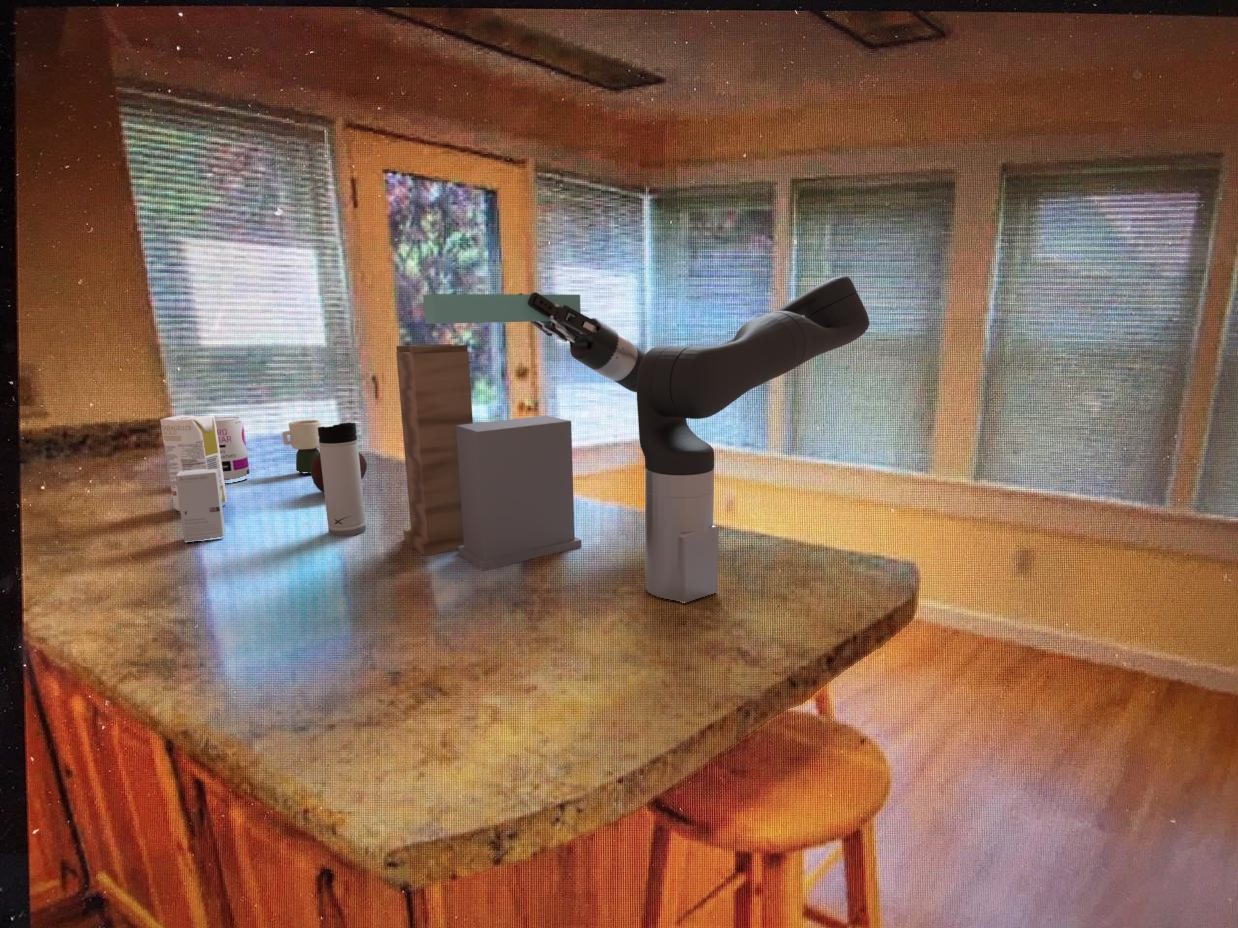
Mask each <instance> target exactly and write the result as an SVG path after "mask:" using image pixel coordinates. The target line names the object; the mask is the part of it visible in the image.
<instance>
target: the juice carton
mask: <svg viewBox="0 0 1238 928" xmlns="http://www.w3.org/2000/svg"><path fill="white" fill-rule="evenodd" d="M215 418H216V417H215V415H214V414H209V415H200V416H199V415H192V414H191V415H190V414H180V415H174V416H169V417H164V418H160V426H161V427H160V428H161V435H162V441H163V442H162V443H163V448H164V453H165V454H164V455H165V459H166V467H167V472H168V478H169V484H170V490H171V496H172V497H171V498H172V502H173V507H174V510H175V509H180V505H179V497H178V489H177V482H176V475H177V474H178V472H179V471H187V470H198V469H214V468H217V469H218V473H219V483H220V491H221V500H222V503H223V502H227V492H226V491H227V490H226V484H225V483H224V476H223V469H222V462H221V455H220V448H219V441H218V434H217V428H216V423H215Z"/></svg>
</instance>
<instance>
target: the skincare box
mask: <svg viewBox="0 0 1238 928" xmlns="http://www.w3.org/2000/svg"><path fill="white" fill-rule="evenodd" d="M176 482H177V489H178V497H179V505H180V512H179V513H180V518H181V528H182V533H183V534H182V535H183V542H184V541H192V540H204V539H210V538H217V537H222V536H223V535H224V536H225V534H224V532H225V533H226V526H225V518H224V510H223V507H222V500H221V491H220V483H219V473H218V469H217V468H214V469H198V470H187V471H179V472H178V474H177V475H176Z"/></svg>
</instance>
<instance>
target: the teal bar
mask: <svg viewBox="0 0 1238 928" xmlns="http://www.w3.org/2000/svg"><path fill="white" fill-rule="evenodd" d="M531 294H532V293H530V294H524V293H522V294H520V293H517V294H515V293H514V294H513V293H511V294H509V293H507V294H506V293H504V294H503V293H501V294H497V293H496V294H495V293H493V294H492V293H490V294H489V293H486V294H485V293H484V294H483V293H482V294H480V293H471V294H470V293H467V294H466V293H464V294H463V293H462V294H461V293H431V294H429V293H428V294H423V295H422V298H423V299H422V300H423V311H424V314H423V315H424V324H425V325H431V324H433V325H435V324H439V325H440V324H443V325H444V324H446V325H447V324H478V323H480V324H481V323H482V324H483V323H485V324H487V323H488V324H489V323H522V322H523V323H525V322H526V323H528V322H529V323H531V322H534V321H551V320H550V319H548V316H549V315H548V316H544V315H543V314H541V313H540V312H538V311H537V310H535V309H533V308H532V307H530V306H529V305H528V300H529V298H530V296H531ZM539 294H540V293H539ZM540 295H541V296H543V297H544V298H546V299H547V300H549V301H550V302H552V303H553V305H554V303H556V304H559V305H560V306H561V307H563V305H566V306H568V307H570V308H572V309H574V310H575V311H577V312H579V313H581V314H582V312H581V310H582V309H581V294H553V293H552V294H546V293H545V294H542V293H541V294H540ZM569 317H572V316H569ZM569 317H568V318H569ZM572 318H573V317H572Z"/></svg>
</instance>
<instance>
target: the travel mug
mask: <svg viewBox="0 0 1238 928" xmlns="http://www.w3.org/2000/svg"><path fill="white" fill-rule="evenodd" d="M356 425H357V424H356V422H342V423H339V424H333V425H331V426H321V427H318V436H319V445H320V446H319V447H318V449H319V452H320V457H321V466H322V475H323V484H324V493H323V494H324V500H325V502H324V503H325V509H326V518H327V525H328V527H327V529H328V534H329V535H330V536H332V537H336V536H337V537H339V538H345V537H351V536H352V537H353V536H356V535H357V536H358V535H359V534H360V535H361V534H362V533H364V532H365V531H366V529H367V525H366V516H365V515H366V514H365V503H364V493H363V484H362V483H363V482H362V481H363V480H361V471H360V461H359V453H360V452H359V444H358V436H357V426H356Z"/></svg>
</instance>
